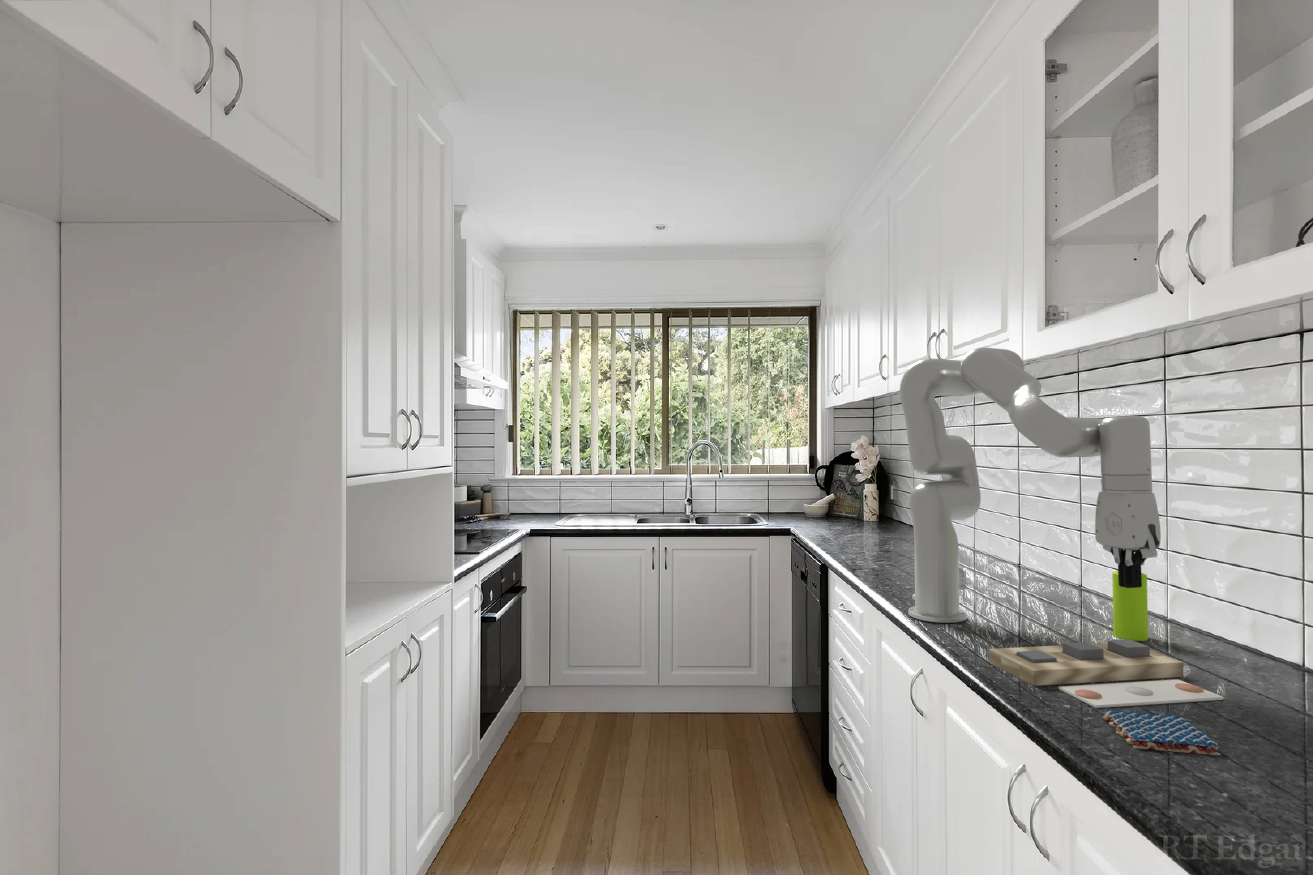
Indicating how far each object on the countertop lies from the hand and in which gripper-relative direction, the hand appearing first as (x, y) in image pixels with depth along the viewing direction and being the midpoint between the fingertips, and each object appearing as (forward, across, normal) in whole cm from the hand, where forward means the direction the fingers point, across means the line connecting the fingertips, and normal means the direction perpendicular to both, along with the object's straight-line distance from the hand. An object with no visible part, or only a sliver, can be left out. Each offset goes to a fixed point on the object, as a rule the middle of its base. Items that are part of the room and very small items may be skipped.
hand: (1130, 586), depth 121 cm
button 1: (+14, -1, -18) cm, 23 cm away
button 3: (+13, -1, 0) cm, 13 cm away
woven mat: (+16, +25, -19) cm, 35 cm away
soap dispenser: (+14, -17, +15) cm, 27 cm away
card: (+15, +11, -9) cm, 21 cm away
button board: (+14, -1, -9) cm, 17 cm away
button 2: (+13, -1, -9) cm, 16 cm away
